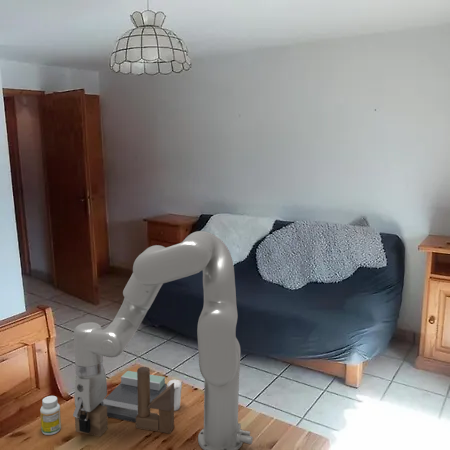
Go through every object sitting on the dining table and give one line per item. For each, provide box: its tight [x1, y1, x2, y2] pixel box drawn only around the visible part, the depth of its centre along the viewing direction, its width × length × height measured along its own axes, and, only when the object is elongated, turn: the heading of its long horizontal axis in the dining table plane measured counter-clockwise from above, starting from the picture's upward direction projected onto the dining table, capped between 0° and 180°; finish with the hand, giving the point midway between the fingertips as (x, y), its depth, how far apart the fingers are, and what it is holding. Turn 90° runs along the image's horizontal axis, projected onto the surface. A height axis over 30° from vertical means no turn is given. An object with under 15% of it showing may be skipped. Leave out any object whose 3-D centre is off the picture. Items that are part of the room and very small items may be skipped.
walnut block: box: [74, 405, 108, 437], centre depth 133 cm, size 8×4×7 cm, turn 74°
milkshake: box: [166, 379, 184, 412], centre depth 144 cm, size 5×5×10 cm
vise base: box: [103, 382, 168, 423], centre depth 148 cm, size 15×21×4 cm
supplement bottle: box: [39, 395, 62, 436], centre depth 132 cm, size 5×5×10 cm
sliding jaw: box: [120, 370, 166, 391], centre depth 156 cm, size 14×5×2 cm, turn 74°
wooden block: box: [135, 366, 175, 434], centre depth 133 cm, size 4×11×18 cm, turn 78°
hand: (91, 424), depth 133 cm, fingers open, 5 cm apart
